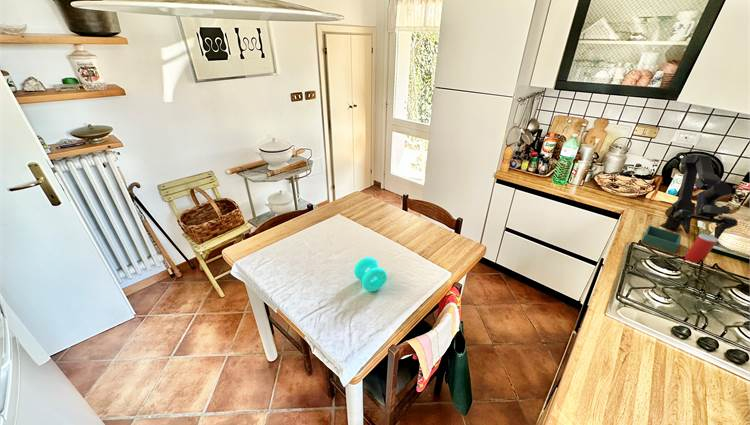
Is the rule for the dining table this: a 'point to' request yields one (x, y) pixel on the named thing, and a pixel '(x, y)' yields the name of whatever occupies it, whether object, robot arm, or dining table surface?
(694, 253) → the chip canister
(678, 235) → the bin
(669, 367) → the dining table surface
